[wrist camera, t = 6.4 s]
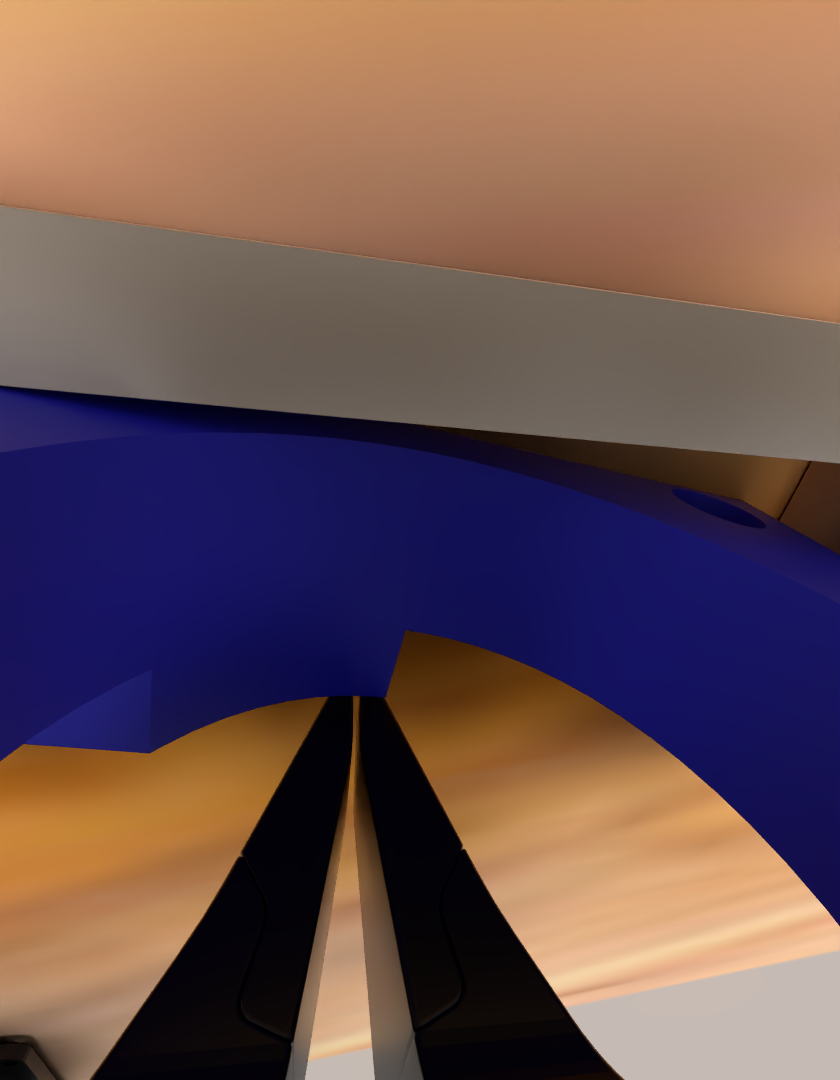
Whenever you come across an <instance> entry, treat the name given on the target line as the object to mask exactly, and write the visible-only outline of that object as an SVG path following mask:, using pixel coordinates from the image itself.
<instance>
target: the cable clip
mask: <svg viewBox="0 0 840 1080" xmlns="http://www.w3.org/2000/svg"><path fill="white" fill-rule="evenodd" d="M406 630H407V631H414V632H420V633H425V634H430V635H435V636H440V637H444V638H449V639H453V640H456V641H460V642H464V643H467V644H471V645H475V646H478V647H481V648H484V649H487V650H490V651H492V652H495V653H498V654H501V655H504V656H507V657H509V658H511V659H514V660H516V661H519V662H521V663H524V664H526V665H528V666H531V667H533V668H535V669H537V670H539V671H542V672H544V673H546V674H548V675H550V676H552V677H554V678H556V679H558V680H560V681H562V682H564V683H566V684H568V685H569V686H571V687H573V688H575V689H577V690H578V691H580V692H582V693H584V694H586V695H587V696H589V697H591V698H593V699H594V700H596V701H597V702H599V703H600V704H602V705H604V706H605V707H607V708H608V709H610V710H612V711H613V712H615V713H616V714H618V715H620V716H621V717H622V718H624V719H625V720H627V721H628V722H630V723H631V724H632V725H634V726H635V727H637V728H638V729H639V730H641V731H642V732H644V733H645V734H647V735H648V736H649V737H651V738H652V739H653V740H655V741H656V742H657V743H658V744H660V745H661V746H662V747H664V748H665V749H666V750H667V751H669V752H670V753H671V754H672V755H674V756H675V757H676V758H678V759H679V760H680V761H681V762H683V763H684V764H685V765H686V766H687V767H688V768H689V769H691V770H692V771H693V772H694V773H695V774H696V775H698V776H699V777H700V778H701V779H702V780H703V781H704V782H706V783H707V784H708V785H709V786H710V787H711V788H712V789H714V790H715V791H716V792H717V793H718V794H719V795H720V796H721V797H722V798H723V799H724V800H725V801H726V802H727V803H728V804H729V805H730V806H731V807H732V808H734V809H735V810H736V811H737V812H738V813H739V814H740V815H741V816H742V817H743V818H744V819H745V820H746V821H747V822H748V823H749V824H750V825H751V826H752V827H753V828H754V829H755V830H756V831H757V832H758V833H759V834H760V835H761V836H762V838H763V839H764V840H765V841H766V842H767V843H768V844H769V845H770V846H771V847H772V848H773V849H774V850H775V851H776V852H777V853H778V854H779V855H780V857H781V858H782V859H783V860H784V861H785V862H786V863H787V864H788V865H789V866H790V867H791V869H792V870H793V871H794V872H795V873H796V874H797V876H798V877H799V878H800V879H801V880H802V881H803V883H804V884H805V885H806V886H807V887H808V888H809V889H810V891H811V892H812V893H813V894H814V895H815V896H816V898H817V899H818V900H819V901H820V902H821V903H822V905H823V906H824V907H825V908H826V909H827V911H828V912H829V913H830V914H831V916H832V917H833V918H834V919H835V921H836V922H837V923H838V925H839V926H840V555H839V554H837V553H835V552H833V551H832V550H830V549H828V548H826V547H825V546H823V545H821V544H819V543H817V542H816V541H814V540H812V539H810V538H808V537H807V536H805V535H803V534H801V533H800V532H798V531H796V530H794V529H792V528H791V527H789V526H787V525H785V524H784V523H782V522H780V521H778V520H776V519H775V518H773V517H771V516H769V515H767V514H766V513H764V512H762V511H760V510H759V509H757V508H755V507H753V506H751V505H750V504H748V503H746V502H744V501H742V500H737V499H733V498H729V497H724V496H720V495H716V494H711V493H707V492H703V491H698V490H694V489H690V488H685V487H681V486H677V485H672V484H668V483H664V482H659V481H655V480H651V479H646V478H642V477H638V476H633V475H629V474H625V473H620V472H616V471H612V470H607V469H603V468H599V467H594V466H590V465H586V464H581V463H577V462H573V461H568V460H564V459H560V458H555V457H551V456H547V455H542V454H538V453H534V452H529V451H525V450H521V449H516V448H512V447H508V446H503V445H499V444H495V443H490V442H486V441H482V440H477V439H473V438H469V437H464V436H460V435H456V434H451V433H447V432H443V431H438V430H434V429H430V428H425V427H421V426H417V425H412V424H408V423H399V422H389V421H378V420H367V419H356V418H346V417H335V416H324V415H313V414H302V413H292V412H281V411H270V410H259V409H249V408H238V407H227V406H216V405H206V404H195V403H184V402H173V401H162V400H152V399H141V398H130V397H119V396H109V395H98V394H87V393H76V392H66V391H55V390H44V389H33V388H22V387H12V386H1V385H0V761H1V760H2V759H4V758H5V757H6V756H8V755H9V754H10V753H12V752H13V751H14V750H16V749H17V748H18V747H20V746H21V745H22V744H32V745H45V746H58V747H72V748H85V749H98V750H111V751H125V752H138V753H151V752H153V751H155V750H157V749H158V748H160V747H162V746H164V745H166V744H168V743H170V742H172V741H174V740H176V739H178V738H180V737H182V736H184V735H186V734H188V733H190V732H192V731H195V730H197V729H200V728H202V727H204V726H207V725H209V724H212V723H214V722H217V721H219V720H222V719H224V718H227V717H230V716H233V715H237V714H240V713H243V712H246V711H249V710H253V709H256V708H260V707H264V706H268V705H273V704H277V703H282V702H286V701H293V700H300V699H307V698H314V697H328V696H375V697H386V694H387V691H388V688H389V684H390V681H391V678H392V674H393V671H394V668H395V664H396V661H397V658H398V654H399V651H400V647H401V644H402V641H403V637H404V634H405V631H406Z"/></svg>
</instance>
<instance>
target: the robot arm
mask: <svg viewBox="0 0 840 1080" xmlns="http://www.w3.org/2000/svg"><path fill="white" fill-rule="evenodd" d="M352 742H353V696H328V698H327V699H326V701H325V703H324V705H323V707H322V708H321V710H320V712H319V714H318V715H317V717H316V719H315V721H314V723H313V724H312V726H311V728H310V730H309V731H308V733H307V735H306V737H305V739H304V740H303V742H302V744H301V746H300V748H299V749H298V751H297V753H296V755H295V756H294V758H293V760H292V762H291V764H290V765H289V767H288V769H287V771H286V772H285V774H284V776H283V778H282V780H281V781H280V783H279V785H278V787H277V789H276V790H275V792H274V794H273V796H272V797H271V799H270V801H269V803H268V805H267V806H266V808H265V810H264V812H263V813H262V815H261V817H260V819H259V821H258V822H257V824H256V826H255V828H254V830H253V831H252V833H251V835H250V837H249V838H248V840H247V842H246V844H245V846H244V847H243V849H242V851H241V856H239V857H238V858H237V859H236V861H235V863H234V865H233V866H232V868H231V870H230V872H229V874H228V875H227V877H226V879H225V881H224V882H223V884H222V886H221V887H220V889H219V891H218V892H217V894H216V896H215V897H214V899H213V901H212V902H211V904H210V906H209V907H208V909H207V911H206V912H205V914H204V916H203V917H202V919H201V920H200V922H199V923H198V925H197V926H196V928H195V929H194V931H193V932H192V934H191V935H190V937H189V938H188V940H187V941H186V943H185V944H184V946H183V947H182V949H181V950H180V952H179V953H178V955H177V956H176V958H175V959H174V961H173V962H172V964H171V965H170V966H169V968H168V969H167V971H166V972H165V974H164V975H163V976H162V978H161V979H160V981H159V982H158V984H157V985H156V986H155V988H154V989H153V991H152V992H151V993H150V995H149V996H148V998H147V999H146V1001H145V1002H144V1003H143V1005H142V1006H141V1008H140V1009H139V1011H138V1012H137V1013H136V1015H135V1016H134V1018H133V1019H132V1021H131V1022H130V1023H129V1025H128V1026H127V1028H126V1029H125V1031H124V1032H123V1033H122V1035H121V1036H120V1038H119V1039H118V1041H117V1042H116V1043H115V1045H114V1046H113V1048H112V1049H111V1051H110V1052H109V1053H108V1055H107V1056H106V1058H105V1059H104V1060H103V1062H102V1063H101V1065H100V1066H99V1067H98V1069H97V1070H96V1071H95V1073H94V1074H93V1076H92V1077H91V1078H90V1080H305V1075H306V1067H307V1062H308V1056H309V1049H310V1043H311V1037H312V1030H313V1024H314V1018H315V1011H316V1005H317V999H318V992H319V986H320V980H321V973H322V967H323V961H324V954H325V948H326V942H327V935H328V929H329V923H330V916H331V910H332V904H333V897H334V891H335V885H336V878H337V872H338V866H339V859H340V853H341V847H342V840H343V834H344V828H345V820H346V812H347V801H348V790H349V778H350V767H351V755H352ZM354 827H355V840H356V852H357V864H358V877H359V889H360V901H361V914H362V926H363V938H364V951H365V963H366V975H367V988H368V1000H369V1012H370V1025H371V1037H372V1049H373V1061H374V1074H375V1080H624V1079H623V1078H622V1077H621V1076H620V1075H619V1074H618V1073H617V1072H616V1071H615V1070H614V1069H613V1068H612V1067H611V1066H610V1065H609V1064H608V1063H607V1062H606V1061H605V1060H604V1058H603V1057H602V1056H601V1055H600V1054H599V1053H598V1051H597V1050H596V1049H595V1048H594V1047H593V1045H592V1044H591V1043H590V1042H589V1040H588V1039H587V1038H586V1036H585V1035H584V1034H583V1032H582V1031H581V1030H580V1028H579V1027H578V1025H577V1024H576V1023H575V1021H574V1020H573V1018H572V1017H571V1015H570V1014H569V1013H568V1011H567V1009H566V1008H565V1006H564V1005H563V1004H562V1002H561V1001H560V999H559V998H558V996H557V995H556V993H555V992H554V990H553V989H552V987H551V986H550V984H549V983H548V981H547V980H546V978H545V977H544V976H543V974H542V973H541V971H540V970H539V968H538V967H537V965H536V964H535V962H534V961H533V959H532V958H531V956H530V955H529V953H528V952H527V950H526V949H525V947H524V946H523V945H522V943H521V942H520V940H519V939H518V937H517V936H516V934H515V933H514V931H513V929H512V928H511V926H510V925H509V923H508V922H507V920H506V919H505V917H504V915H503V914H502V912H501V911H500V909H499V908H498V906H497V905H496V903H495V901H494V900H493V898H492V896H491V894H490V893H489V891H488V889H487V887H486V886H485V884H484V882H483V880H482V879H481V877H480V875H479V873H478V872H477V870H476V868H475V866H474V864H473V862H472V860H471V859H470V857H469V855H468V853H467V851H466V850H465V849H462V848H463V844H462V842H461V840H460V838H459V837H458V835H457V833H456V831H455V829H454V827H453V825H452V823H451V822H450V820H449V818H448V816H447V814H446V812H445V810H444V808H443V806H442V805H441V803H440V801H439V799H438V797H437V795H436V793H435V791H434V790H433V788H432V786H431V784H430V782H429V780H428V778H427V776H426V775H425V773H424V771H423V769H422V767H421V765H420V763H419V761H418V760H417V758H416V756H415V754H414V752H413V750H412V748H411V746H410V745H409V743H408V741H407V739H406V737H405V735H404V733H403V731H402V730H401V728H400V726H399V724H398V722H397V720H396V718H395V716H394V715H393V713H392V711H391V709H390V707H389V705H388V703H387V701H386V700H385V698H384V697H375V696H359V700H358V711H357V722H356V746H355V775H354ZM0 1080H56V1079H55V1078H54V1076H53V1075H52V1074H51V1072H50V1071H49V1070H48V1068H47V1067H46V1066H45V1064H44V1063H43V1062H42V1060H41V1059H40V1058H39V1057H38V1055H37V1054H36V1053H35V1051H34V1050H33V1049H32V1047H31V1046H29V1045H26V1044H19V1043H13V1044H1V1045H0Z"/></svg>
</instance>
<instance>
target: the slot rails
mask: <svg viewBox="0 0 840 1080" xmlns="http://www.w3.org/2000/svg"><path fill="white" fill-rule="evenodd" d="M0 385H1V386H12V387H22V388H33V389H44V390H55V391H66V392H76V393H87V394H98V395H109V396H119V397H130V398H141V399H152V400H162V401H173V402H184V403H195V404H206V405H216V406H227V407H238V408H249V409H259V410H270V411H281V412H292V413H302V414H313V415H324V416H335V417H346V418H356V419H367V420H378V421H389V422H399V423H410V424H421V425H432V426H442V427H453V428H464V429H475V430H486V431H496V432H507V433H518V434H529V435H539V436H550V437H561V438H572V439H582V440H593V441H604V442H615V443H626V444H636V445H647V446H658V447H669V448H679V449H690V450H701V451H712V452H722V453H733V454H744V455H755V456H766V457H776V458H787V459H798V460H809V461H812V462H811V464H810V466H809V468H808V470H807V472H806V473H805V475H804V477H803V479H802V481H801V483H800V484H799V486H798V488H797V490H796V492H795V493H794V495H793V497H792V499H791V501H790V503H789V504H788V506H787V508H786V510H785V512H784V514H783V515H782V517H781V519H780V522H782V523H784V524H785V525H787V526H789V527H791V528H792V529H794V530H796V531H798V532H800V533H801V534H803V535H805V536H807V537H808V538H810V539H812V540H814V541H816V542H817V543H819V544H821V545H823V546H825V547H826V548H828V549H830V550H832V551H833V552H835V553H837V554H839V555H840V323H837V322H829V321H822V320H815V319H808V318H801V317H794V316H787V315H780V314H773V313H766V312H759V311H751V310H744V309H737V308H730V307H723V306H716V305H709V304H702V303H695V302H688V301H681V300H673V299H666V298H659V297H652V296H645V295H638V294H631V293H624V292H617V291H610V290H603V289H595V288H588V287H581V286H574V285H567V284H560V283H553V282H546V281H539V280H532V279H525V278H517V277H510V276H503V275H496V274H489V273H482V272H475V271H468V270H461V269H454V268H447V267H439V266H432V265H425V264H418V263H411V262H404V261H397V260H390V259H383V258H376V257H369V256H361V255H354V254H347V253H340V252H333V251H326V250H319V249H312V248H305V247H298V246H291V245H283V244H276V243H269V242H262V241H255V240H248V239H241V238H234V237H227V236H220V235H213V234H205V233H198V232H191V231H184V230H177V229H170V228H163V227H156V226H149V225H142V224H135V223H128V222H120V221H113V220H106V219H99V218H92V217H85V216H78V215H71V214H64V213H57V212H50V211H42V210H35V209H28V208H21V207H14V206H7V205H0Z"/></svg>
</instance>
